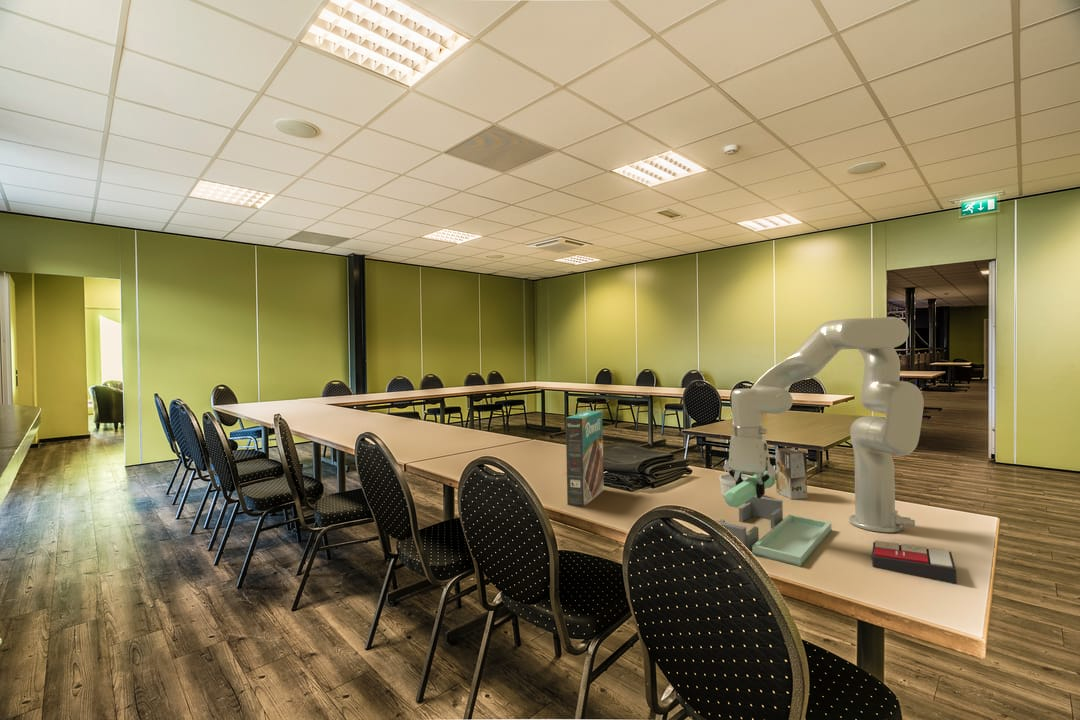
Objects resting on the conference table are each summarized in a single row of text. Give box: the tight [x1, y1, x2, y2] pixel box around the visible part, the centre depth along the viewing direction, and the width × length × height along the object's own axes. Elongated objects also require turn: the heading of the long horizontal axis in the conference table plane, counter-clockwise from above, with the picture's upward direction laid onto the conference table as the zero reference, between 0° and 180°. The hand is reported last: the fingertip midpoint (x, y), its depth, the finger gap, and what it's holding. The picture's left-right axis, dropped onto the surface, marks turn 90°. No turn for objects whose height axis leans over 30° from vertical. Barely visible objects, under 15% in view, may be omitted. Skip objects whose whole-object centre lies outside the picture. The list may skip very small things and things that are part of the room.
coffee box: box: [775, 447, 808, 500], centre depth 169 cm, size 9×6×16 cm
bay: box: [715, 496, 784, 551], centre depth 136 cm, size 10×32×6 cm, turn 137°
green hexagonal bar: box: [724, 470, 776, 509], centre depth 136 cm, size 6×6×25 cm
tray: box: [751, 514, 832, 568], centre depth 128 cm, size 11×31×2 cm, turn 137°
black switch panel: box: [871, 540, 958, 585], centre depth 112 cm, size 11×4×15 cm
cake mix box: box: [565, 410, 605, 508], centre depth 172 cm, size 22×6×30 cm, turn 155°
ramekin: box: [719, 473, 757, 503], centre depth 168 cm, size 13×13×7 cm
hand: (750, 494), depth 136 cm, fingers closed on green hexagonal bar, 4 cm apart
